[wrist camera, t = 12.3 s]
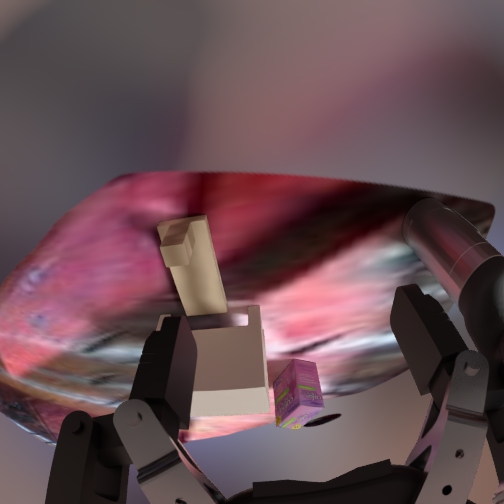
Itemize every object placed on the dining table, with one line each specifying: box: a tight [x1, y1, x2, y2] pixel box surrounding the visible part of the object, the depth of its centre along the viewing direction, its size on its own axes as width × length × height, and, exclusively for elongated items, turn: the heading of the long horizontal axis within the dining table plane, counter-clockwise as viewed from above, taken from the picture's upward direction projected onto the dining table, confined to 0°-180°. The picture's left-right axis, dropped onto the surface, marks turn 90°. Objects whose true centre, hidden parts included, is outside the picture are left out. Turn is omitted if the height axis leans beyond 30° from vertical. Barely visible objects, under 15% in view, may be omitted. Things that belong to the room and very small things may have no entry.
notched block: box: [156, 305, 270, 416], centre depth 45 cm, size 19×8×16 cm, turn 98°
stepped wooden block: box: [157, 215, 227, 316], centre depth 42 cm, size 7×17×8 cm, turn 8°
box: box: [273, 359, 324, 429], centre depth 56 cm, size 10×6×12 cm, turn 158°
